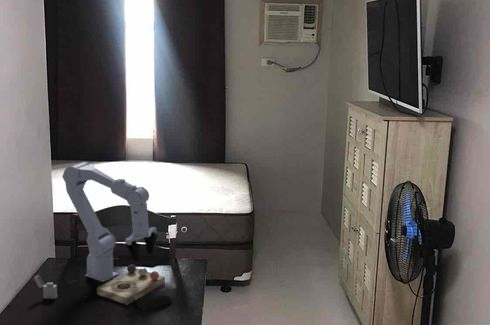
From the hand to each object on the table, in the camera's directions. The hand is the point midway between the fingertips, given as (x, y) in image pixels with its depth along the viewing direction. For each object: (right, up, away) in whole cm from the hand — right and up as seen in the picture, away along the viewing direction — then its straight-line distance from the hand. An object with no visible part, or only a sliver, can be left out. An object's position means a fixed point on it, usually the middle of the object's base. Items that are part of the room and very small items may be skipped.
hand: (143, 257), depth 191 cm
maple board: (-4, -11, -3) cm, 12 cm away
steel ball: (0, -6, +2) cm, 6 cm away
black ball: (-5, -5, +4) cm, 8 cm away
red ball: (+4, -7, -1) cm, 8 cm away
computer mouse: (+6, -14, -13) cm, 20 cm away
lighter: (-31, -12, -11) cm, 35 cm away
